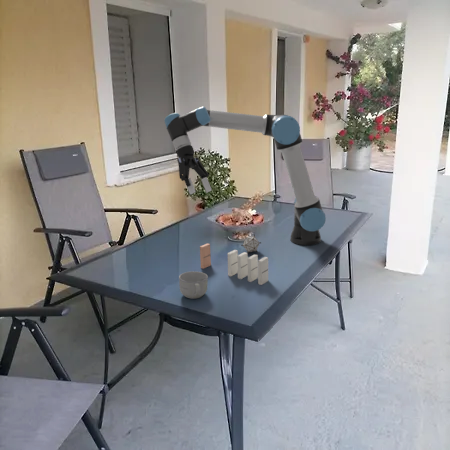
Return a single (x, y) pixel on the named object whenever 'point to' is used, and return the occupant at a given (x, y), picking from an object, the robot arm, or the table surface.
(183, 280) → the teacup
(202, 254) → the domino
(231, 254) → the domino
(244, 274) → the domino
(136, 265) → the table surface
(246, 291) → the table surface
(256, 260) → the domino
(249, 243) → the game die
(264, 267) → the domino
